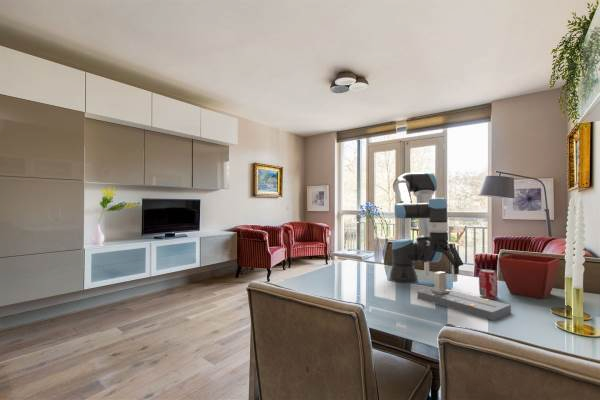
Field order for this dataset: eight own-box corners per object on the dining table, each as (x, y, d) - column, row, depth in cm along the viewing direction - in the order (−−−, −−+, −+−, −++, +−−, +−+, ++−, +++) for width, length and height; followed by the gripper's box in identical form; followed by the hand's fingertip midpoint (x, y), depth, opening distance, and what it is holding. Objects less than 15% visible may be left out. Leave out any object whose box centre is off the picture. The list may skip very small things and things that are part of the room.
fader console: (436, 292, 140) (435, 286, 140) (510, 312, 113) (510, 304, 113) (417, 297, 133) (417, 290, 133) (492, 320, 105) (492, 311, 106)
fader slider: (439, 289, 134) (438, 270, 135) (449, 292, 130) (449, 272, 130) (431, 292, 131) (430, 272, 131) (441, 294, 127) (441, 274, 127)
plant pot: (513, 285, 150) (511, 253, 150) (561, 294, 135) (559, 257, 135) (498, 292, 139) (497, 257, 139) (549, 302, 123) (548, 263, 124)
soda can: (499, 296, 133) (498, 270, 133) (496, 300, 128) (495, 273, 128) (481, 293, 138) (480, 268, 138) (477, 297, 133) (477, 270, 133)
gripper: (410, 230, 140) (411, 274, 139) (460, 233, 119) (462, 285, 118) (420, 229, 144) (421, 272, 143) (470, 232, 123) (472, 282, 122)
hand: (440, 278), depth 131 cm, fingers open, 13 cm apart
